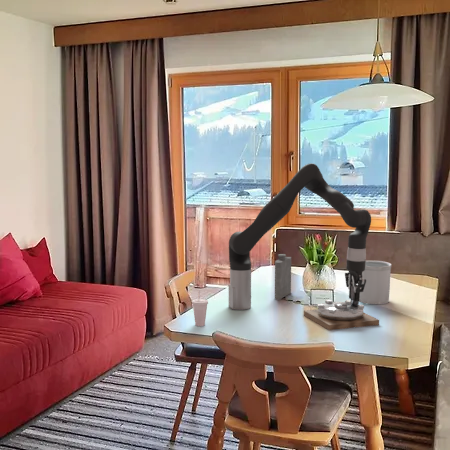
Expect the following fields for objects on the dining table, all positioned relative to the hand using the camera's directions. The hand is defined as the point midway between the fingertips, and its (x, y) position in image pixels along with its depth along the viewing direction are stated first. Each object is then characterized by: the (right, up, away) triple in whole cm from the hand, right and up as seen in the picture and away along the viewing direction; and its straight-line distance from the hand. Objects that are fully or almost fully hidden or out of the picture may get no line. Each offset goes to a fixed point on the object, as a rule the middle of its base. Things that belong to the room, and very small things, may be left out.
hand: (354, 299), depth 236 cm
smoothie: (-63, -9, -9) cm, 64 cm away
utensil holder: (+15, -4, +29) cm, 33 cm away
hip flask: (-26, -3, +38) cm, 46 cm away
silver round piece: (-6, -6, -2) cm, 9 cm away
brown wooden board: (-6, -8, -2) cm, 10 cm away
